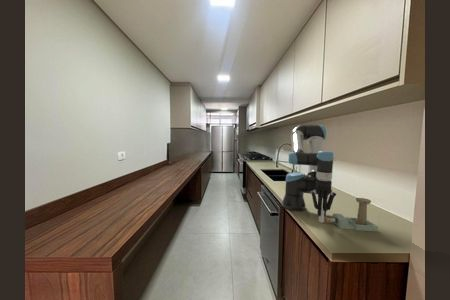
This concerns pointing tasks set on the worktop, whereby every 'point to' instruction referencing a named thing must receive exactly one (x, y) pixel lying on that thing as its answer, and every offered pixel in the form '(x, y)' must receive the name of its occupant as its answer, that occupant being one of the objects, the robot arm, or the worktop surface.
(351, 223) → the dock
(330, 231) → the worktop surface
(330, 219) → the lock pin
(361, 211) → the handle
